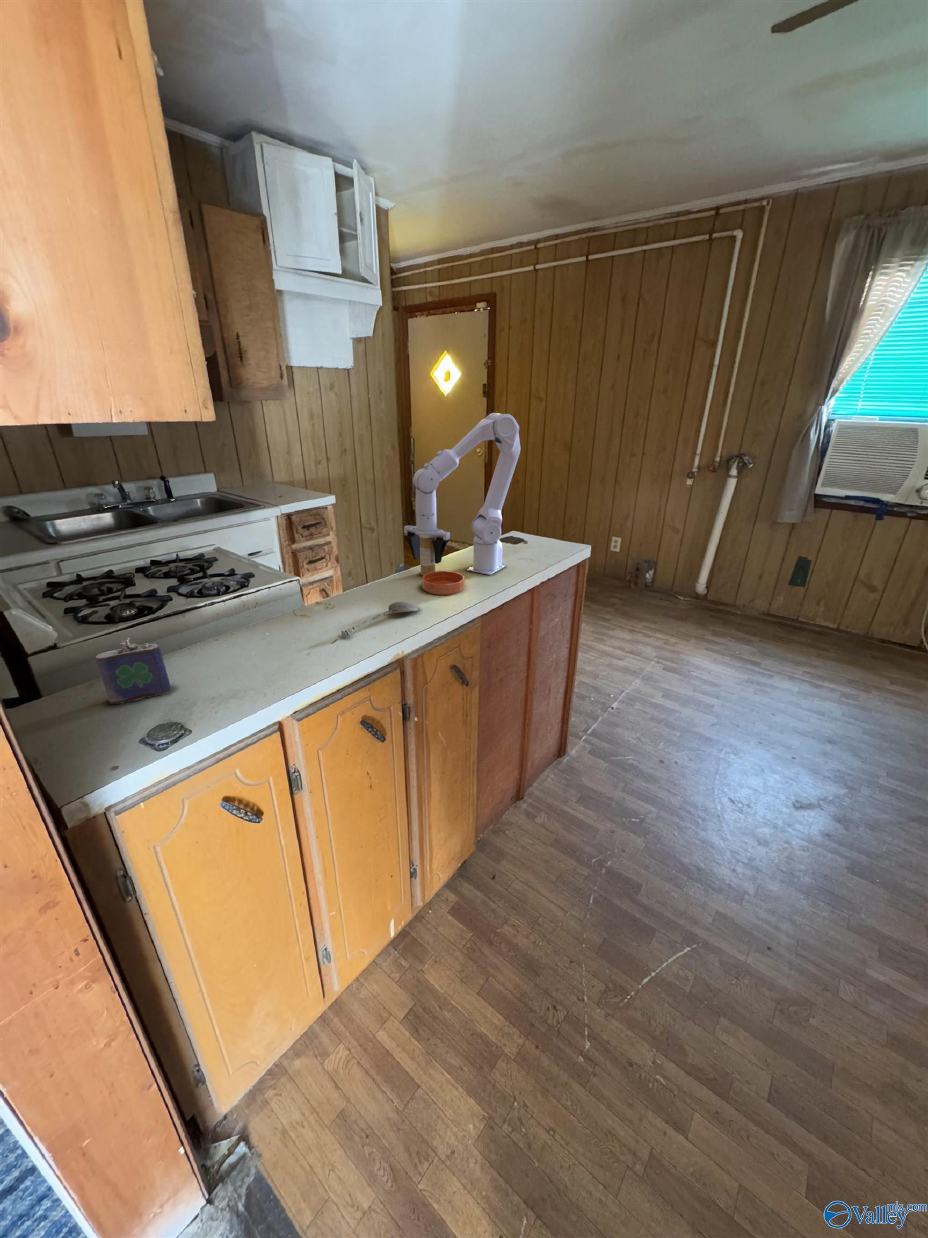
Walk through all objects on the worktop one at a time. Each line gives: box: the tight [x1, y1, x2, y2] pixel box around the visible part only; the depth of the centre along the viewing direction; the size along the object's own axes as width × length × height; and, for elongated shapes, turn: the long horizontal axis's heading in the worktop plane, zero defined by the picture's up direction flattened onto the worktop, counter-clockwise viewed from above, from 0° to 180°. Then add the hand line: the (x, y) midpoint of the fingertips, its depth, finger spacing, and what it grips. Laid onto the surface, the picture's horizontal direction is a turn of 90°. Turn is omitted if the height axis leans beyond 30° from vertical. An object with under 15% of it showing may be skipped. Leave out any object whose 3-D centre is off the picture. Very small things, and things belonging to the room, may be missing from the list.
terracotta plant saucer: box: [421, 570, 466, 596], centre depth 137 cm, size 12×12×3 cm
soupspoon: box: [340, 601, 419, 638], centre depth 116 cm, size 22×3×7 cm
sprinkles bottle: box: [419, 535, 436, 577], centre depth 145 cm, size 5×5×14 cm
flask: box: [94, 637, 172, 705], centre depth 85 cm, size 9×3×11 cm, turn 117°
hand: (427, 560), depth 146 cm, fingers open, 7 cm apart
